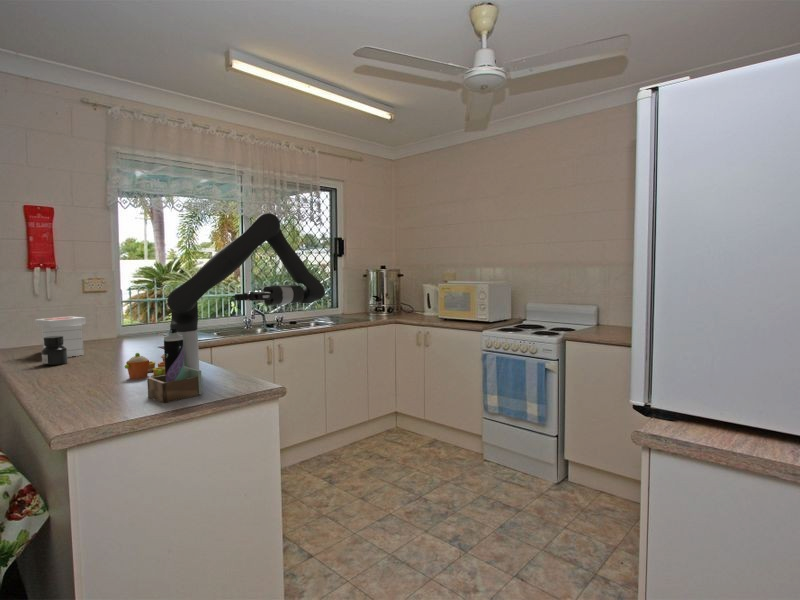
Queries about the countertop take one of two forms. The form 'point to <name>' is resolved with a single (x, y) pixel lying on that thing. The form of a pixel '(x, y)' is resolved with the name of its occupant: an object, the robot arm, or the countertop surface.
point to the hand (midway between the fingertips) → (235, 297)
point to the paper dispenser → (64, 332)
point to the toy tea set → (144, 367)
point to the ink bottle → (54, 351)
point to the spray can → (174, 356)
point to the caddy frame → (171, 388)
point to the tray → (194, 373)
